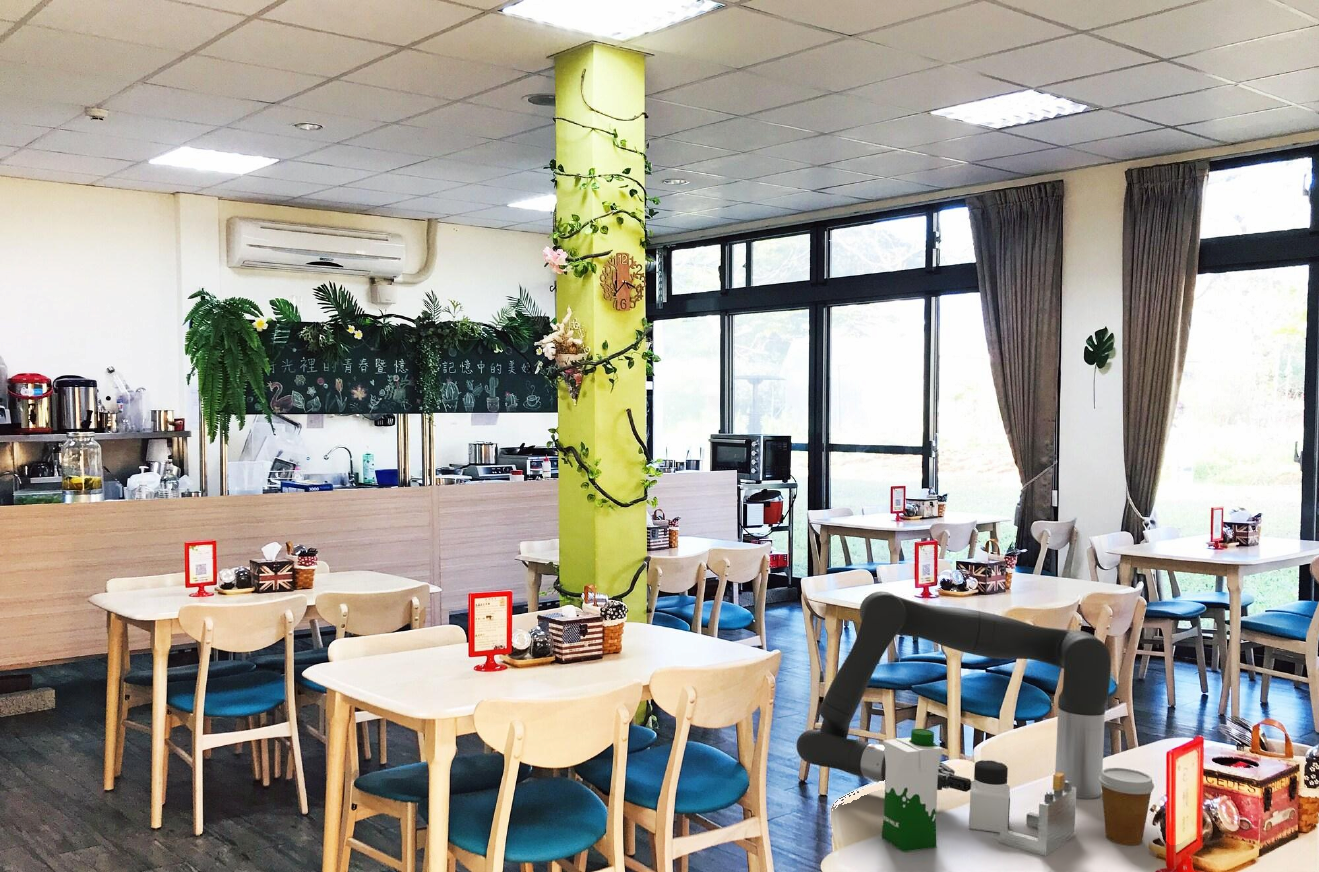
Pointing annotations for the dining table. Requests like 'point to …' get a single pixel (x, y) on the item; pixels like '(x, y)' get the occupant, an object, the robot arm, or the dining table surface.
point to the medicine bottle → (989, 797)
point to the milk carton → (911, 791)
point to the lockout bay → (1048, 820)
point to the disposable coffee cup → (1125, 804)
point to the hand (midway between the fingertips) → (969, 785)
